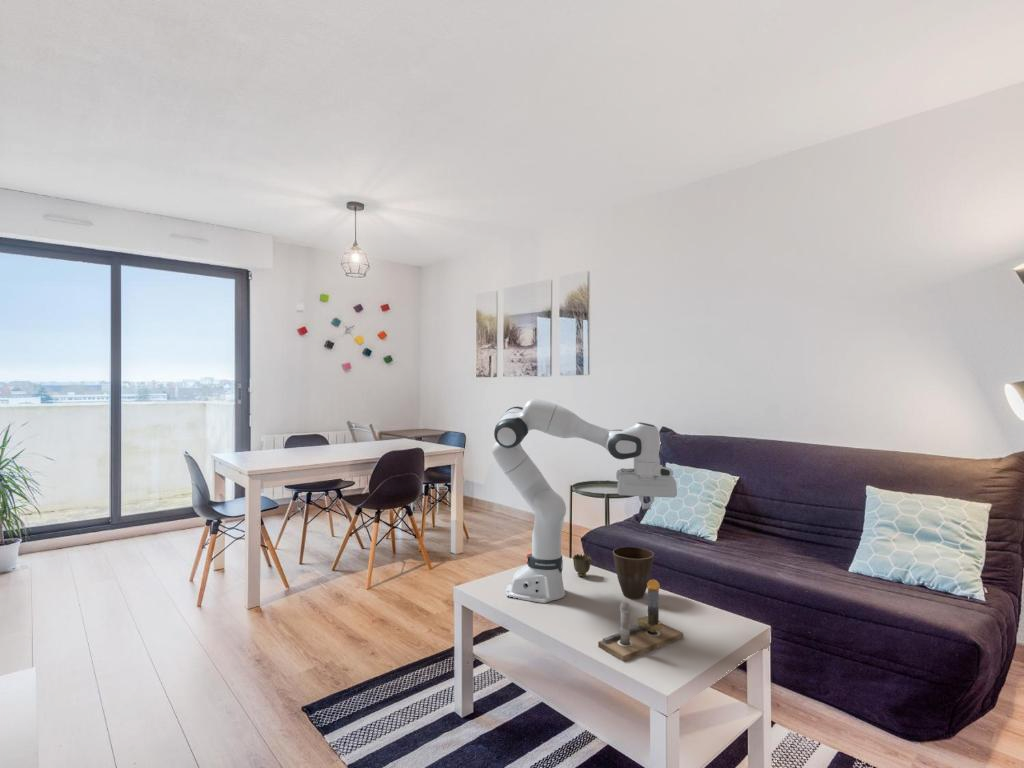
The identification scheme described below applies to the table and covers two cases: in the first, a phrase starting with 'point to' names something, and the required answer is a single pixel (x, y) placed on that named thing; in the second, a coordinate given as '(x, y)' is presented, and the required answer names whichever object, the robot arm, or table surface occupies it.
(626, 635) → the wooden peg board
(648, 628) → the sliding leg
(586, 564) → the cup
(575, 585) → the table surface
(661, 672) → the table surface
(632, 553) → the plant pot
